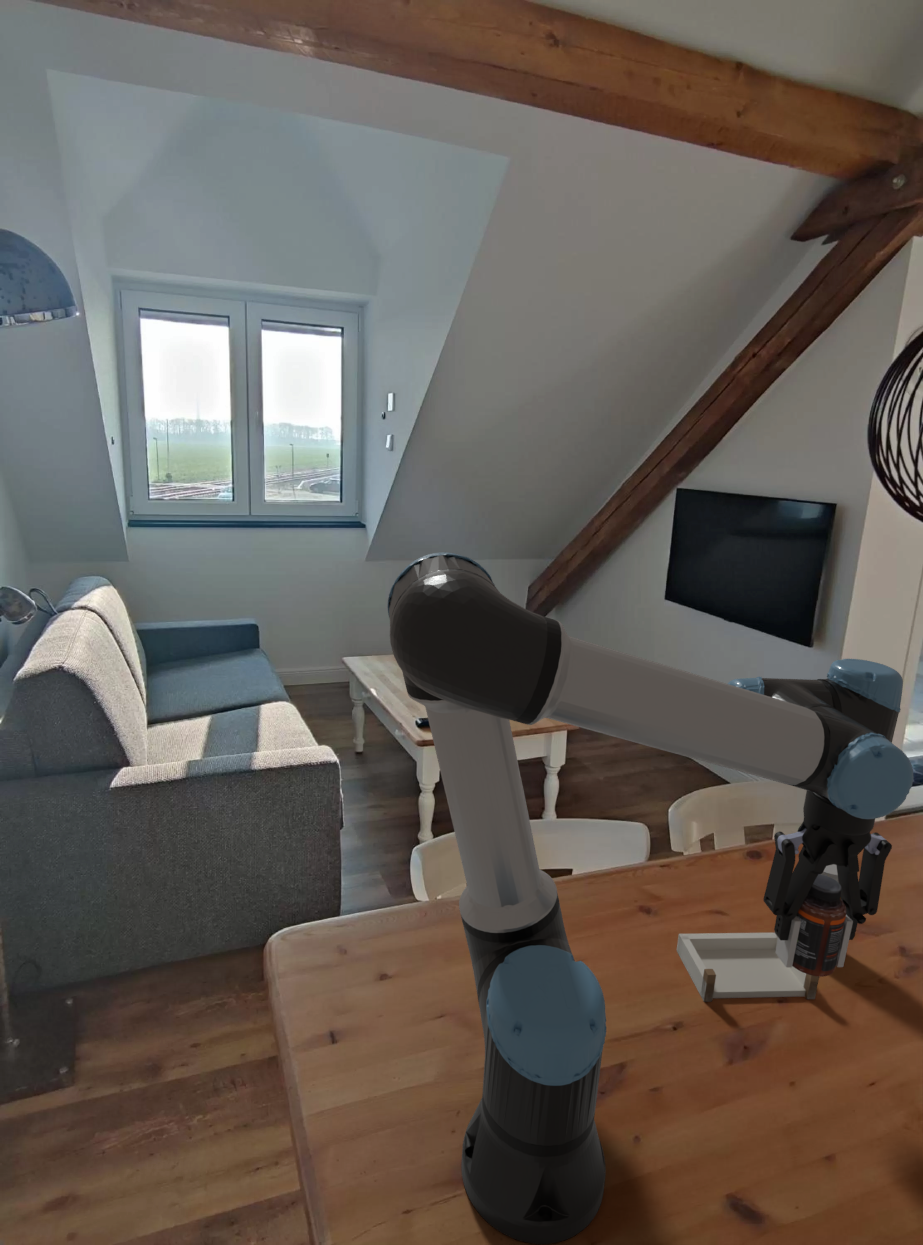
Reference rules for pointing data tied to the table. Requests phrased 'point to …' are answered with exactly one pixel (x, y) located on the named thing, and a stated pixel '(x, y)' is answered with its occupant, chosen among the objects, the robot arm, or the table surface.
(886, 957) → the table surface
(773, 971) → the bay
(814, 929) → the supplement bottle
